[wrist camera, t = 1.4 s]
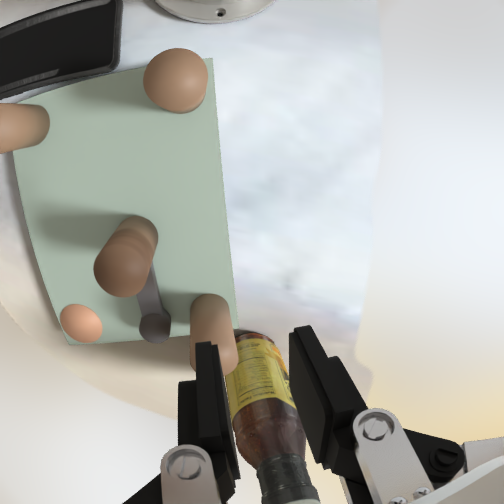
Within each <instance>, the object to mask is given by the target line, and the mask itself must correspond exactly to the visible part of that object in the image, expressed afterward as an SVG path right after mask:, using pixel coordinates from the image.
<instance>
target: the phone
mask: <svg viewBox="0 0 504 504" xmlns="http://www.w3.org/2000/svg"><path fill="white" fill-rule="evenodd" d="M122 14H123V1H122V0H81V1H77V2H74V3H70V4H66V5H63V6H59V7H56V8H53V9H50V10H46V11H43V12H40V13H37V14H35V15H32V16H29V17H26V18H24V19H21V20H18V21H16V22H13V23H11V24H8V25H6V26H4V27H1V28H0V100H2V99H4V98H8V97H11V96H14V95H18V94H22V93H23V92H26V91H29V90H32V89H36V88H40V87H43V86H47V85H51V84H55V83H59V82H63V81H68V80H72V79H77V78H82V77H87V76H92V75H97V74H103V73H108V72H111V71H113V70H114V69H115V68H116V67H117V66H118V64H119V61H120V52H119V51H120V46H121V27H122Z"/></svg>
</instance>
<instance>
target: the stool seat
mask: <svg viewBox="0 0 504 504" xmlns="http://www.w3.org/2000/svg"><path fill="white" fill-rule="evenodd" d="M10 151H13V157H14V164H15V170H16V176H17V181H18V187H19V192H20V197H21V201H22V206H23V210H24V215H25V219H26V223H27V227H28V231H29V235H30V238H31V242H32V246H33V249H34V252H35V256H36V259H37V262H38V265H39V269H40V272H41V275H42V278H43V281H44V284H45V286H46V289H47V292H48V295H49V298H50V300H51V303H52V306H53V308H54V311H55V313H56V316H57V318H58V321H59V323H60V326H61V328H62V330H63V333H64V335H65V337H66V340H67V342H68V344H69V345H80V344H97V343H112V342H125V341H137V340H145V339H144V338H143V337H142V336H141V335H140V332H139V325H140V321H141V317H142V314H141V310H140V307H139V303H138V300H137V296H136V295H133V296H131V297H125V298H122V297H116V296H113V295H110V294H109V293H107V292H105V291H104V290H103V289H102V288H101V287H100V286H99V284H98V283H97V281H96V279H95V276H94V271H93V266H94V261H95V259H96V257H97V255H98V254H99V252H100V251H101V250H102V248H103V247H104V245H105V244H106V243H107V241H108V240H109V238H110V237H111V236H112V234H113V233H114V231H115V230H116V229H117V227H118V226H119V225H120V223H121V222H122V221H123V220H125V219H126V218H128V217H131V216H141V217H144V218H146V219H148V220H150V221H151V222H152V223H153V224H154V226H155V227H156V229H157V232H158V244H157V247H156V250H155V254H154V257H153V260H152V261H153V265H154V270H155V275H156V279H157V284H158V288H159V292H160V297H161V301H162V305H163V309H165V310H166V311H168V313H169V314H170V316H171V330H170V336H169V337H177V336H185V335H190V364H191V366H192V368H193V369H194V371H195V372H196V359H195V343H197V342H205V341H211V343H212V345H214V344H218V349H219V355H220V360H221V366H222V371H223V376H225V375H227V374H229V373H231V372H232V371H233V370H234V369H235V368H236V366H237V364H238V360H239V358H238V352H237V347H236V342H235V337H234V332H233V329H239V323H238V314H237V306H236V297H235V288H234V279H233V271H232V261H231V252H230V243H229V233H228V224H227V214H226V204H225V194H224V184H223V174H222V163H221V152H220V142H219V130H218V119H217V107H216V95H215V83H214V70H213V58H206V59H202V58H201V57H200V56H199V55H197V54H196V53H194V52H192V51H190V50H187V49H182V48H174V49H169V50H166V51H163V52H161V53H160V54H158V55H157V56H155V57H154V58H153V59H152V60H151V61H150V63H149V64H148V66H147V67H141V68H136V69H131V70H126V71H121V72H117V73H112V74H108V75H104V76H100V77H96V78H92V79H88V80H84V81H81V82H77V83H74V84H70V85H67V86H64V87H61V88H57V89H54V90H51V91H48V92H45V93H42V94H39V95H37V96H34V97H31V98H28V99H26V100H23V101H20V102H18V103H15V104H13V103H0V154H1V153H5V152H10Z"/></svg>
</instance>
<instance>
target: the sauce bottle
mask: <svg viewBox="0 0 504 504" xmlns="http://www.w3.org/2000/svg"><path fill="white" fill-rule="evenodd" d="M235 342H236V347H237V352H238V358H239V360H238V364H237V366H236V368H235V369H234V370H233V371H232V372H231V373H229V374H227V375H225V381H226V388H227V395H228V401H229V408H230V415H231V421H232V427H233V430H234V432H235V437H236V445H237V448H238V451H239V453H240V454H241V456H242V457H243V458H244V459H245V461H247V463H249V464H250V465H252V467H253V468H255V469H256V470H257V474H256V475H257V478H258V479H259V483H260V487H261V492H262V501H261V502H262V504H320V500H319V496H318V492H317V490H316V489H315V487H314V486H313V485H312V483H311V480H310V477H309V475H308V472H307V469H306V462H305V446H306V434H305V432H304V429H303V426H302V423H301V420H300V418H299V415H298V412H297V409H296V406H295V404H294V401H293V398H292V395H291V392H290V387H289V375H288V372H287V370H286V367H285V365H284V362H283V359H282V357H281V354H280V351H279V350H278V348H277V347H276V346H275V344H274V342H273V341H272V339H270V338H268V337H267V336H265V335H261V334H257V333H248V334H243V335H241V336H237V337H236V338H235Z"/></svg>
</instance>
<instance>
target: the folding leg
mask: <svg viewBox="0 0 504 504" xmlns="http://www.w3.org/2000/svg"><path fill="white" fill-rule="evenodd" d="M157 244H158V232H157V229H156V227H155V226H154V224H153V223H152V222H151V221H150V220H148V219H146V218H144V217H141V216H131V217H128V218H126V219H125V220H123V221H122V222H121V223H120V225H119V226H118V227H117V229H116V230H115V231H114V233H113V234H112V236H111V237H110V238H109V240H108V241H107V243H106V244H105V245H104V247H103V248H102V250H101V251H100V252H99V254H98V255H97V257H96V259H95V261H94V266H93V271H94V276H95V279H96V281H97V283H98V284H99V286H100V287H101V288H102V289H103V290H104V291H105V292H107V293H109V294H110V295H113V296H116V297H122V298H125V297H131V296H133V295H136V296H137V300H138V303H139V307H140V310H141V314H142V317H141V321H140V325H139V332H140V335H141V336H142V337H143V338H144V339H145V340H146V341H148V342H151V343H161V342H164V341H166V340H167V339H168V338H169V336H170V330H171V316H170V314H169V313H168V311H166V310H165V309H163V305H162V301H161V297H160V292H159V288H158V284H157V279H156V275H155V270H154V265H153V261H152V260H153V257H154V254H155V250H156V247H157Z"/></svg>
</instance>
